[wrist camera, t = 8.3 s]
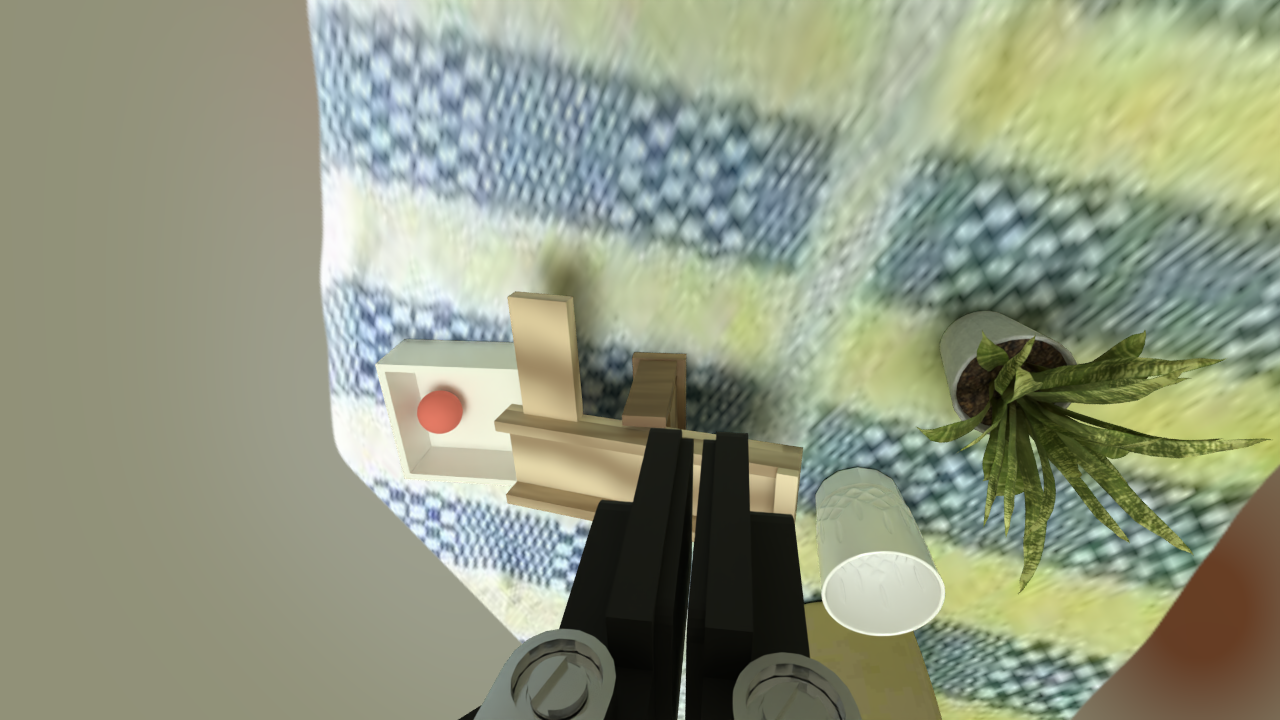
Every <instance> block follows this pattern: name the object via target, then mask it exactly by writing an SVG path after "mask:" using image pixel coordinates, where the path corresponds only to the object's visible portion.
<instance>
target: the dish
mask: <svg viewBox="0 0 1280 720" xmlns="http://www.w3.org/2000/svg"><path fill="white" fill-rule="evenodd" d="M375 365H376V369H377V373H378V377H379V381H380V385H381V389H382V392H383V396H384V400H385V404H386V408H387V412H388V416H389V420H390V424H391V428H392V431H393V435H394V439H395V443H396V447H397V451H398V455H399V459H400V463H401V467H402V470H403V474H404V478H405V479H410V480H425V481H440V482H455V483H469V484H484V485H499V486H513V485H514V484H515V483H516V482H517V478H516V471H515V465H514V458H513V452H512V445H511V439H510V434H509V433H503V432H497V431H495V425H494V421H495V420H496V419H497V418H498V417H499V416H500V415H501V414H502V413H503V412H504V411H505V410H506V409H507V408H508V407H509V406H510V405H511V404H518V405H522V397H521V390H520V383H519V376H518V369H517V361H516V354H515V347H514V343H512V342H480V341H449V340H417V339H404V340H403V341H402V342H401V343H400V344H398V345H397V346H396V347H395V348H394V349H393V350H391V351H390V352H389V353H388V354H387V355H385V356H384V357H383V358H382V359H381V360H380V361H378V362H377V363H376V364H375ZM438 390H443V391H448V392H450V393H452V394H454V395H455V396H456V397H457V398H458V399H459V400H460V402H461V405H462V408H463V415H462V419H461V421H460V423H459V424H458V426H457V427H456V428H455V429H453V430H452V431H450V432H447V433H443V434H435V433H431V432H429V431H427V430H426V429H424V428H423V427H422V425H421V424H420V422H419V420H418V417H417V409H418V405H419V403H420V401H421V400H422V399H423V398H424V397H425V396H426V395H427V394H429V393H431V392H433V391H438Z"/></svg>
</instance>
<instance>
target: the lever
mask: <svg viewBox="0 0 1280 720" xmlns="http://www.w3.org/2000/svg"><path fill="white" fill-rule="evenodd" d="M508 304H509V311H510V318H511V326H512V333H513V340H514V347H515V354H516V361H517V369H518V376H519V383H520V390H521V397H522V405H518V404H511V405H510V406H509V407H508V408H507V409H506V410H505V411H504V412H503V413H502V414H501V415H500V416H499V417H498V418H497V419H496V420H495V421H494V425H495V431H497V432H503V433H509V434H510V439H511V445H512V452H513V458H514V465H515V471H516V478H517V482H516V483H515V484H514V485H513V487H512V488H511V489H510V490H509V492H508V493H507V494H506V497H507V503H508V504H513V505H518V506H523V507H528V508H532V509H537V510H542V511H547V512H552V513H557V514H561V515H566V516H571V517H576V518H581V519H585V520H590V521H593V519H594V515H595V512H596V509H597V506H598V504H599V502H600V501H601V500H612V501H625V502H633V499H634V495H635V491H636V486H637V482H638V478H639V474H640V469H641V465H642V461H643V457H644V452H645V448H646V444H647V440H648V435H649V431H650V428H652V427H632V426H622V420H617V419H610V418H604V417H597V416H590V415H584V414H583V405H582V394H581V382H580V371H579V360H578V348H577V337H576V326H575V314H574V303H573V297H572V296H561V295H550V294H539V293H527V292H516V291H515V292H514V293H512V294H511V295H509V296H508ZM666 429H676V428H670V427H666ZM682 438H694V462H693V514H692V542H694V538H695V527H696V516H697V505H698V494H699V483H700V472H701V461H702V450H703V440H704V439H710V440H716V434H709V433H703V432H696V431H689V430H683V429H682ZM748 446H749V486H750V511H755V512H768V513H781V514H792V515H793V518H794V524H795V520H796V510H797V500H798V491H799V481H800V472H801V462H802V452H803V448H802V447H795V446H788V445H782V444H775V443H769V442H762V441H755V440H749V439H748Z"/></svg>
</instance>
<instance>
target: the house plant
mask: <svg viewBox="0 0 1280 720" xmlns="http://www.w3.org/2000/svg"><path fill="white" fill-rule="evenodd" d="M1145 338H1146V332H1145V331H1144V333H1140V334H1135V335H1132V336H1130V337H1128V338H1126V339H1124V340H1123V341H1121V342H1120V343H1118V344H1117V345H1115V346H1114V347H1112V348H1111V349H1110V350H1108V351H1107V352H1106V353H1104V354H1103V355H1101V356H1100V357H1098V358H1097V359H1095V360H1094V361H1092V362H1089V363H1085V364H1078V365H1077V363H1076V361H1075V359H1074V358H1073V356H1072V354H1071V352H1069V351H1068V350H1067V349H1066V348H1065V347H1064V346H1063V345H1061V344H1060V343H1058V342H1056V341H1054V340H1052V339H1050V338H1048V337H1046V336H1045V335H1043V334H1041V333H1039V332H1037V331H1035V330H1033V329H1031V328H1029V327H1027V326H1025V325H1023V324H1021V323H1019V322H1017V321H1015V320H1013V319H1011V318H1009V317H1007V316H1005V315H1003V314H1000V313H998V312H993V311H977V312H973V313H970V314H967V315H965V316H963V317H961V318H959V319H957V320H956V321H955V322H954V323H952V324H951V325H950V326H949V327H948V328H947V330H946V331H945V332H944V334H943V336H942V338H941V341H940V353H941V358H942V362H943V366H944V370H945V374H946V378H947V382H948V386H949V390H950V395H951V399H952V403H953V407H954V410H955V411H956V413H957V414H958V416H959V417H960V419H961V420H962V421H961V422H957V423H953V424H950V425H946V426H943V427H939V428H936V429H930V430H922V429H920V428H918V427H917V428H918V429H919V430H920V431H921V432H922V433H923V434H924V435H925V436H927V437H928V438H929V439H930V440H931V441H935V442H939V443H940V442H950V441H953V440H956V439H958V438H960V437H962V436H964V435H965V434H967V433H969V432H970V431H972V430H973V429H975V430H977V431H979V432H982V433H983V434H982V435H981V436H980V437H978V438H977V439H976V440H974V441H973V442H971V443H970V444H969V445H967V446H966V447H964V448H963V449H961V450H964V449H966V448H968V447H969V446H971V445H974V444H976V443H977V442H979V441H980V440H981V439H982V438H983V437H984V436H985V435H986V434H989V435H990V438H989V441H988V444H987V447H986V450H985V454H984V457H983V472H984V480H983V481H986V480H989V482H988V490H987V499H986V506H985V517H984V525H985V523H986V521H987V519H988V517H989V513H990V510H991V506H992V504H993V502H994V500H995V497H996V496H1004V520H1005V534H1006V536H1007V532H1008V530H1009V527H1010V520H1011V515H1012V513H1013V509H1014V496H1015V495H1018V494H1020V493H1022V492H1024V494H1025V510H1026V512H1025V532H1024V537H1023V538H1024V542H1023V547H1024V568H1023V571H1022V575H1021V578H1020V592H1021V591H1022V590H1023V589H1024V588H1025V586H1026V585H1027V583H1028V582H1029V581H1030V579H1031V578H1032V577H1033V575H1034V573H1035V571H1036V569H1037V566H1038V564H1039V562H1040V560H1041V556H1042V552H1043V548H1044V542H1045V535H1046V526H1047V520H1048V519H1049V517H1050V515H1051V513H1052V511H1053V508H1054V503H1055V496H1056V489H1055V480H1054V477H1053V473H1052V470H1051V467H1050V464H1049V461H1048V459H1049V460H1050V461H1051V462H1052V463H1053V464H1054V465H1055V466H1056V467H1057V469H1058V470H1059V471H1060V472H1061V473H1062V474H1063V475H1064V477H1065V478H1066V479H1067V480H1068V482H1069V483H1070V484H1071V485H1072V487H1073V488H1074V489H1075V491H1076V492H1077V493H1078V495H1079V496H1080V497H1081V499H1082V500H1083V501H1084V503H1085V504H1086V505H1087V507H1088V508H1089V509H1090V511H1091V512H1092V513H1093V514H1094V516H1095V517H1096V518H1097V519H1098V520H1099V521H1101V522H1102V523H1103V524H1104V525H1105V526H1107V527H1108V528H1109V529H1111V530H1112V531H1113V532H1114V533H1115V534H1116V535H1117V536H1119V537H1120V538H1121V539H1124V540H1126V541H1128V542H1129V540H1128V538H1127V537H1126V536H1125V534H1124V532H1123V531H1122V530H1121V529H1120V528H1119V526H1118V525H1117V523H1116V522H1115V521H1114V520H1113V518H1112V517H1111V516H1110V515H1109V513H1108V512H1107V511H1106V510H1105V509H1104V507H1103V506H1102V505H1101V504H1100V502H1099V501H1098V500H1097V498H1096V497H1095V496H1094V494H1093V493H1092V492H1091V490H1090V489H1089V488H1088V486H1087V485H1086V484H1085V483H1084V481H1083V480H1082V479H1081V478H1080V477H1081V476H1082V474H1081V472H1080V471H1079V470H1078V464H1079V465H1080V466H1081V467H1082V468H1083V469H1084V470H1085V471H1086V472H1087V473H1088V474H1089V475H1090V476H1091V477H1092V478H1093V479H1094V480H1095V481H1096V482H1097V483H1098V484H1099V485H1100V486H1101V487H1102V488H1103V489H1104V490H1105V491H1106V492H1107V493H1108V494H1109V495H1110V496H1111V497H1112V498H1113V499H1114V500H1115V501H1116V502H1117V503H1118V505H1119V506H1120V507H1121V508H1122V509H1123V510H1124V511H1125V512H1126V513H1128V514H1129V515H1130V516H1131V517H1132V518H1133V519H1134V520H1135V521H1136V522H1137V523H1139V524H1140V525H1142V526H1144V527H1145V528H1147V529H1148V530H1150V531H1152V532H1153V533H1155V534H1157V535H1159V536H1161V537H1162V538H1164V539H1165V540H1166V541H1168V542H1169V543H1170V544H1172V545H1173V546H1175V547H1177V548H1179V549H1182V550H1184V551H1187V552H1190V553H1192V551H1191V550H1190V549H1189V548H1188V547H1187V546H1186V545H1185V544H1184V542H1183V541H1182V540H1181V539H1180V538H1179V537H1178V536H1177V535H1176V534H1175V533H1174V532H1173V531H1172V530H1171V529H1170V528H1169V527H1168V526H1167V525H1166V524H1165V523H1164V522H1163V521H1162V520H1161V519H1160V518H1159V517H1158V516H1157V515H1156V514H1155V513H1154V512H1153V511H1152V510H1151V509H1150V508H1149V507H1148V506H1147V505H1146V504H1145V503H1144V502H1143V501H1142V500H1141V499H1140V498H1139V497H1138V496H1137V495H1136V493H1135V492H1134V491H1133V490H1132V489H1131V488H1130V487H1129V486H1128V484H1127V482H1126V481H1125V480H1124V478H1123V477H1122V476H1121V474H1120V473H1119V472H1118V470H1117V469H1116V468H1115V467H1114V466H1113V465H1112V463H1111V462H1110V461H1109V460H1108V459H1107V458H1106V457H1108V458H1111V459H1117V458H1121V457H1124V456H1126V455H1127V454H1128V453H1129V452H1134V453H1139V454H1144V455H1149V456H1157V457H1169V458H1185V457H1192V456H1199V455H1205V454H1209V453H1214V452H1219V451H1226V450H1233V449H1239V448H1244V447H1248V446H1251V445H1254V444H1257V443H1260V442H1262V441H1266V440H1271V439H1238V440H1222V441H1216V440H1219V439H1209V440H1178V439H1168V438H1167V437H1166V438H1162V437H1156V436H1151V435H1147V434H1143V433H1140V432H1136V431H1133V430H1130V429H1127V428H1124V427H1121V426H1117V425H1114V424H1110V423H1107V422H1103V421H1100V420H1097V419H1094V418H1091V417H1088V416H1085V415H1082V414H1079V413H1076V412H1073V411H1070V410H1067V409H1066V408H1067V407H1068V406H1069V405H1070V404H1071V403H1084V404H1114V403H1123V402H1130V401H1136V400H1139V399H1141V398H1143V397H1145V396H1147V395H1149V394H1150V393H1152V392H1153V391H1155V390H1158V389H1160V388H1162V387H1165V386H1169V385H1173V384H1177V383H1179V382H1181V381H1183V380H1186V379H1191V378H1178V377H1179V376H1180V375H1181V373H1182V372H1188V371H1191V370H1195V369H1198V368H1201V367H1205V366H1209V365H1212V364H1216V363H1218V362H1221V361H1223V360H1225V359H1226V358H1225V359H1222V360H1217V359H1204V358H1198V359H1188V360H1174V361H1169V360H1162V359H1153V358H1138V357H1139V355H1140V354H1141V353H1142V350H1143V348H1144V345H1145ZM1159 375H1163V376H1159ZM1149 376H1159V377H1156V378H1153V379H1147V378H1148V377H1149ZM1066 415H1067V416H1066ZM1068 416H1069V417H1068ZM1070 417H1072V418H1074V419H1077V420H1080V421H1083V422H1086V423H1089V424H1092V425H1095V426H1099V427H1102V428H1105V429H1101V428H1095V427H1092V426H1088V425H1085V424H1082V423H1079V422H1077V421H1075V420H1073V419H1071V418H1070ZM1029 435H1030V436H1031V438H1032V439H1033V440H1034V441H1035V444H1036V447H1037V450H1038V453H1039V456H1040V460H1041V465H1042V471H1043V478H1044V493H1043V490H1042V487H1041V482H1040V478H1039V473H1038V469H1037V465H1036V461H1035V457H1034V454H1033V450H1032V447H1031V443H1030V439H1029ZM961 450H960V451H961ZM957 453H958V452H957ZM1129 543H1130V542H1129ZM1192 555H1193V553H1192ZM1193 556H1194V555H1193ZM1020 592H1019V593H1020ZM1019 593H1018V594H1019Z"/></svg>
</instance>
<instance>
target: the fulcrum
mask: <svg viewBox="0 0 1280 720" xmlns="http://www.w3.org/2000/svg"><path fill="white" fill-rule="evenodd" d="M632 365H633V383H632V386H631V389H630V392H629V395H628V398H627V401H626V404H625V407H624V411H623V414H622V426H632V427H652V428H666V427H670V428H676V429H683V430H686V354H671V353H641V352H634V354H633V357H632Z"/></svg>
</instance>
